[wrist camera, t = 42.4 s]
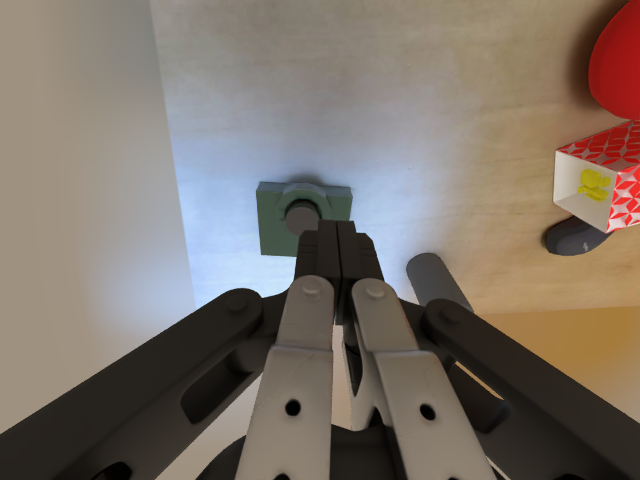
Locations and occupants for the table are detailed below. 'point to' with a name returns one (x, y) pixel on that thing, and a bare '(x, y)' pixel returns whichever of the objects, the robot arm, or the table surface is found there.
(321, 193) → the push button box
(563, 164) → the red white patterned cube
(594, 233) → the computer mouse
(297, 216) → the brown push button
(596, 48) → the tomato
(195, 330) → the robot arm
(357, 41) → the table surface
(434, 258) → the bottle
